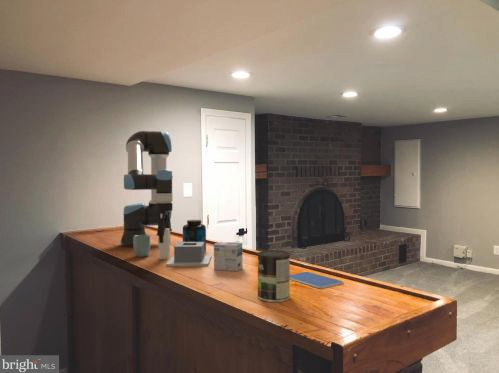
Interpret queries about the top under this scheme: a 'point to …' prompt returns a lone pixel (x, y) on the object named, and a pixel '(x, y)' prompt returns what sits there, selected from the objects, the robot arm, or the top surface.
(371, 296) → the top surface
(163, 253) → the peg
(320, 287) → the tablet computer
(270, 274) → the coffee can
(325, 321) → the top surface
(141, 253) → the cup
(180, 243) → the socket block
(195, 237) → the container
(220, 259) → the light bulb box
